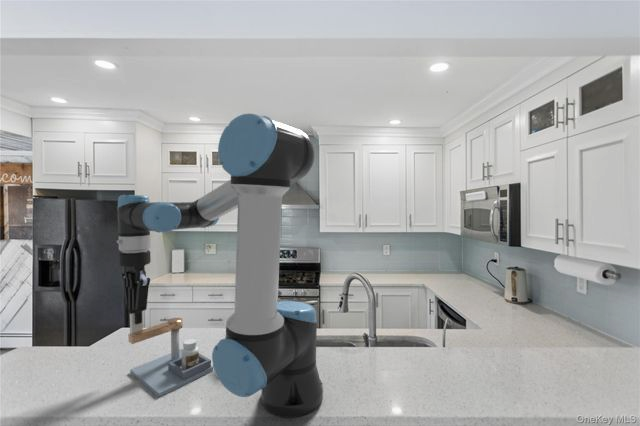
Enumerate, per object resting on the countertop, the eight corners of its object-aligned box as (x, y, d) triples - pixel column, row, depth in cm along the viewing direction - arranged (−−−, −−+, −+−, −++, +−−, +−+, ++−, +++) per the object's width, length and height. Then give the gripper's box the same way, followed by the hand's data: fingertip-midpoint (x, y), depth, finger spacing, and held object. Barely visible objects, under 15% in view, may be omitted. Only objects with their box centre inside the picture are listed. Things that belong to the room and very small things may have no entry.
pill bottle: (188, 374, 82) (188, 346, 82) (178, 369, 85) (178, 342, 84) (202, 366, 86) (201, 340, 86) (192, 362, 88) (192, 336, 88)
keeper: (178, 323, 93) (178, 316, 92) (185, 327, 90) (185, 320, 90) (127, 340, 81) (127, 332, 81) (133, 345, 79) (133, 336, 79)
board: (213, 370, 86) (213, 335, 86) (159, 397, 74) (158, 357, 74) (182, 351, 96) (181, 321, 96) (130, 372, 85) (129, 337, 84)
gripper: (110, 249, 85) (112, 332, 86) (129, 255, 77) (131, 345, 78) (139, 246, 91) (140, 323, 92) (159, 251, 83) (161, 335, 84)
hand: (136, 333), depth 85 cm, fingers closed
